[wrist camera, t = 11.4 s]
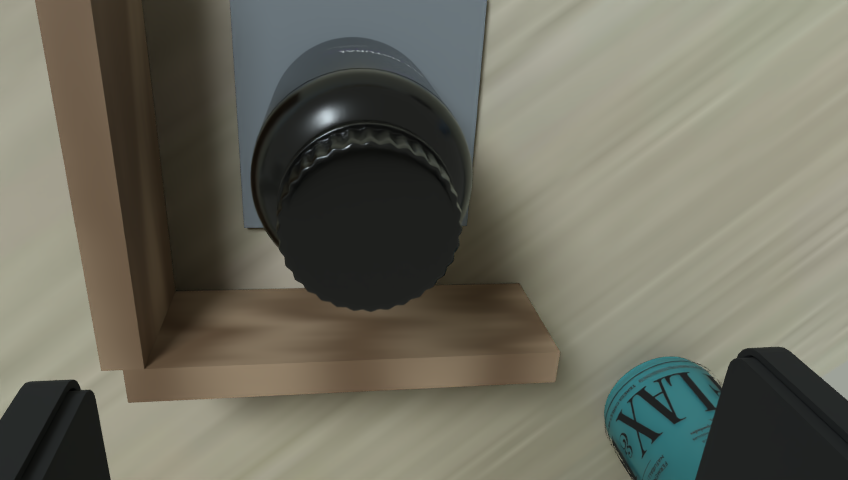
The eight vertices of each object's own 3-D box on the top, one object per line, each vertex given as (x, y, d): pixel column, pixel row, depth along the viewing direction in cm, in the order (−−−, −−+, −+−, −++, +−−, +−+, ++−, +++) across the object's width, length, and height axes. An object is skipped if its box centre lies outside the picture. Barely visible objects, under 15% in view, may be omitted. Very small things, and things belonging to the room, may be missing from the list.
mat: (244, 224, 29) (244, 227, 29) (229, -18, 25) (228, -17, 24) (465, 223, 30) (466, 225, 30) (485, -5, 26) (487, -4, 26)
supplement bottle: (404, 8, 26) (467, 57, 15) (452, 164, 29) (534, 297, 18) (240, 66, 26) (186, 157, 15) (305, 216, 29) (300, 380, 18)
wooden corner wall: (144, 320, 30) (107, 403, 25) (79, -141, 22) (5, -167, 17) (515, 309, 33) (555, 382, 27) (569, -104, 25) (638, -116, 20)
